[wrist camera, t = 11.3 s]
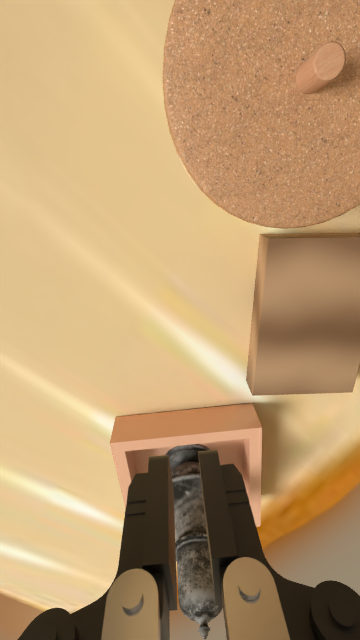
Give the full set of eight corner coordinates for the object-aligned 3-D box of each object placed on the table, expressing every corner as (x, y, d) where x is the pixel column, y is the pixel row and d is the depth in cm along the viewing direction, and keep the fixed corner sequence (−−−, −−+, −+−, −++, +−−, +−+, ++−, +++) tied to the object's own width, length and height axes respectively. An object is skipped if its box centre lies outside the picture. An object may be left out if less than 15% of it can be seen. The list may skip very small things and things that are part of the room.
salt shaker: (211, 490, 30) (239, 666, 19) (152, 483, 29) (144, 662, 18) (228, 445, 28) (270, 614, 17) (164, 436, 27) (164, 607, 16)
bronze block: (257, 233, 21) (268, 238, 19) (368, 232, 22) (392, 236, 19) (244, 377, 26) (252, 395, 24) (336, 374, 26) (352, 392, 24)
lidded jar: (359, 166, 20) (512, 148, 11) (208, 243, 21) (238, 280, 12) (311, -43, 16) (493, -329, 7) (130, 70, 17) (94, -52, 8)
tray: (115, 417, 27) (109, 443, 24) (252, 402, 27) (262, 427, 24) (136, 508, 31) (133, 539, 29) (252, 496, 31) (260, 526, 29)
